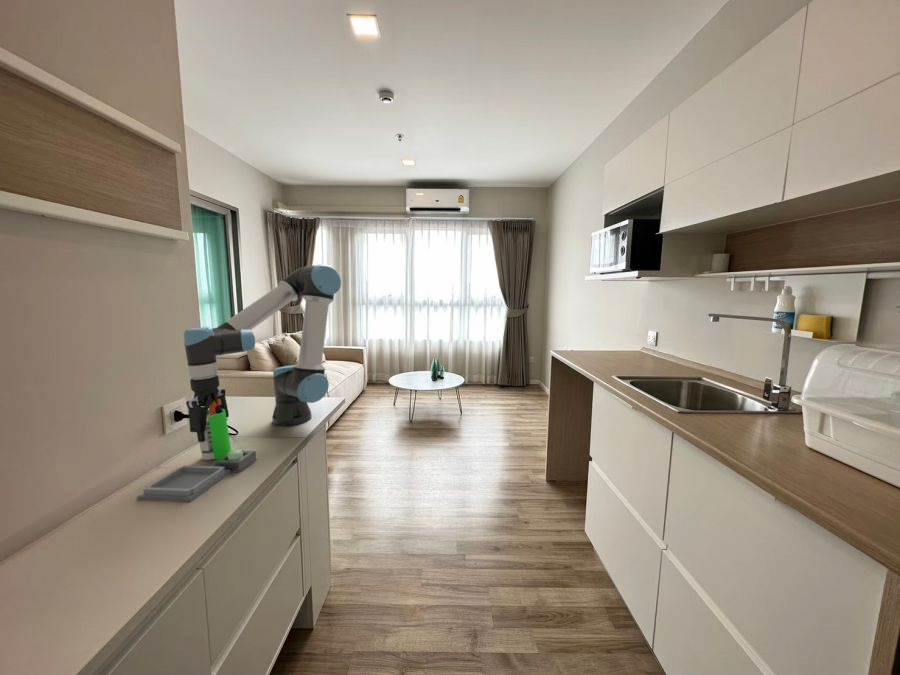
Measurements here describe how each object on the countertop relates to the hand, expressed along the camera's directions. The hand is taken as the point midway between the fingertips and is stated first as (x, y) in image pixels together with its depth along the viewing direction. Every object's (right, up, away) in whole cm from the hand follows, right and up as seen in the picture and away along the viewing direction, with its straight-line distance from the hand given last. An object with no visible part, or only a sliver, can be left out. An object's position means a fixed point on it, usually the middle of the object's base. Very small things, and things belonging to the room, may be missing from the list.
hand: (213, 445), depth 117 cm
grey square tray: (+3, -6, -16) cm, 18 cm away
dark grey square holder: (+10, -5, -5) cm, 12 cm away
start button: (+10, -4, -5) cm, 12 cm away
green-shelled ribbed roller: (0, -3, +1) cm, 3 cm away
